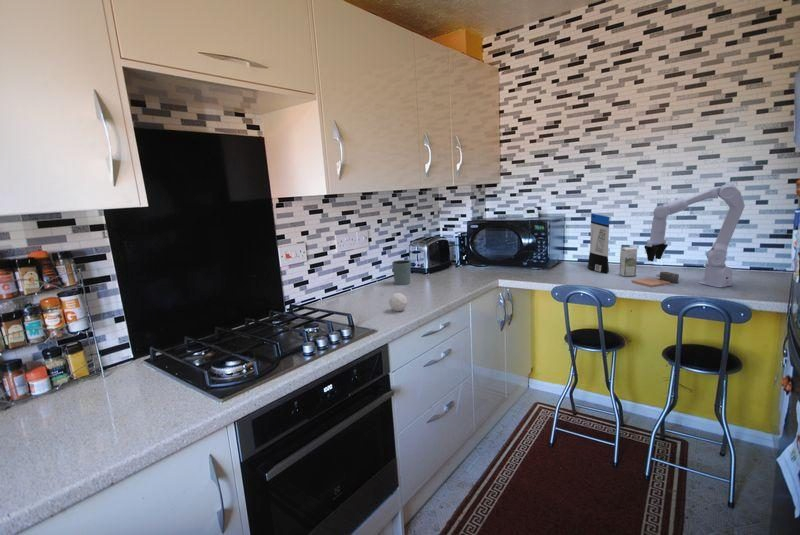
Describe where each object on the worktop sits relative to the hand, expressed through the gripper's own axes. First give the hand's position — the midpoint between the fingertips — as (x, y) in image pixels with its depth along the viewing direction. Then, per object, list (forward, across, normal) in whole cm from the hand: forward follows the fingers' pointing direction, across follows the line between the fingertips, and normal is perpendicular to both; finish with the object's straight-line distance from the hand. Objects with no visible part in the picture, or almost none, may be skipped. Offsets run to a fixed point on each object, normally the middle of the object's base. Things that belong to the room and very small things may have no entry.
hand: (654, 259), depth 198 cm
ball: (+16, +113, -50) cm, 125 cm away
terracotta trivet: (+10, +5, +2) cm, 12 cm away
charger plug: (+10, -3, +6) cm, 12 cm away
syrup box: (+11, -4, -13) cm, 18 cm away
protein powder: (+12, -8, -32) cm, 35 cm away
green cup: (+18, +84, -89) cm, 124 cm away
